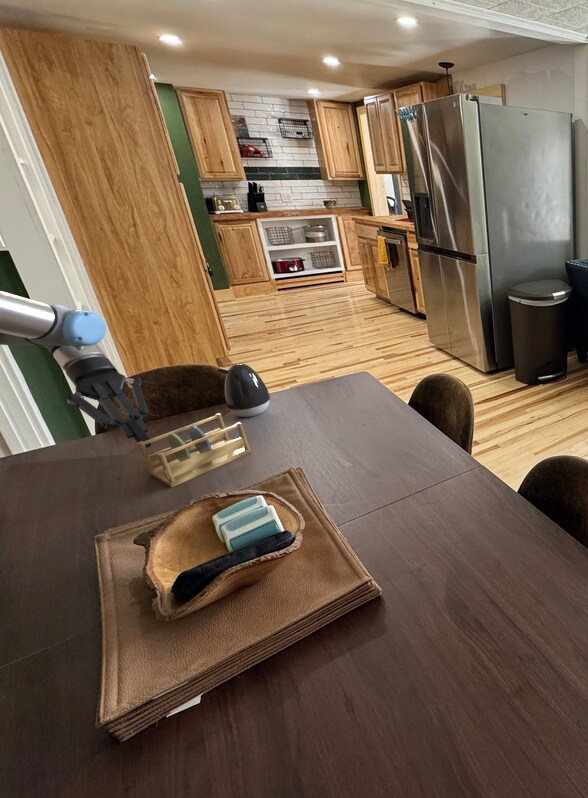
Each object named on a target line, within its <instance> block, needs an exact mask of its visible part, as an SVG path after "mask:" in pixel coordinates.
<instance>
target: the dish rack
mask: <svg viewBox="0 0 588 798" xmlns="http://www.w3.org/2000/svg"><path fill="white" fill-rule="evenodd" d="M213 420H217V423H218V426H219V427H218V428H215V429H213V430H211V431H207V432H206V433H205V432H204V431H203V430H202V429H201V428H200V427H198V426H200V425H202V424H205V423H208V422H210V421H213ZM234 429H237V431H238V433H239V437H237V438H235V439H230V437H229V432H230V431H232V430H234ZM186 430H188V433H189V437H190V439H187V440H185V441H184V440H183V439H181V437H180V436H179V435H177V434H178V433H181V432H184V431H186ZM165 438H167V440H168V445H169V447H166V448H164V449H161V450H159V451H156V452H153V453H151V454H149V452H148V450H147V449H148V448H146V447H145V445H146V444H149V443H151V444H152V443H154V442H156V441H157V442H158V441H159V440H162V439H165ZM149 439H150V440H147V441H144V442H143V441H141V442H138V443H137V442H136V444H137V447H138V449H139V451H140V453H141V455H142V458H143V461H144V464H145V466H146V468H147V470H148V473H149V475H151V476H152V477H154V478H155V479H157V480H158V481H160V482H162V483H164V484H165V485H167V486H168V487H170V488H174V487H176V486H178V485H181V484H183V483H186V482H187V481H189V480H192V479H194V478H196V477H199V476H201V475H203V474H205V473H208V472H210V471H213V470H214V469H217V468H219V467H221V466H223V465H225V464H228V463H230V462H232V461H234V460H237V459H239V458H241V457H244V456H246V455H248V454H251V453H252V450H251V448H250V444H249V441H248V438H247V436H246V433H245V430H244V427H243V423H242V422H241V421H238V422H236V423H235V424H233V425H231V426H229V427H227V426H226V425H225V423H224V419H223V417H222V413H220V412H218V413H216V414H215V415H213V416H210V417H207V418H205V419H202V420H198V421H197V422H193V423H191V424H189V425H185V426H182V427H180V428H177V429H175V430H171V431H168V432H167V433H164V434H161V435H157V436H155V437H153V438H149ZM220 439H223V440H220ZM218 440H220V441H218ZM215 441H217V442H215ZM213 442H215V443H213ZM211 443H213V444H211ZM193 450H196V451H194V452H191V453H190V451H193ZM173 458H176V459H174V460H172V459H173ZM170 459H171V460H172V461H169V460H170ZM168 461H169V462H168ZM158 464H160V466H157V467H155V466H156V465H158Z"/></svg>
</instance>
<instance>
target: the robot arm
mask: <svg viewBox="0 0 588 798" xmlns="http://www.w3.org/2000/svg"><path fill="white" fill-rule="evenodd" d="M106 331H107V325H106V322H105V321H104V319H103V318H102V317H101V315H99V314H97V313H96V312H93V311H89V310H82V309H70V308H69V307H67V306H65V305H62V304H48V303H44V302H41V301H37V300H34V299H30V298H27V297H24V296H20V295H16V294H13V293H10V292H6V291H3V290H0V346H18V347H19V346H20V347H21V346H22V347H36V348H46V349H47V351H48V352H49V353H50V355H51V356H52V357H53V358H54V359H55V361H56V362H57V364H58V365H59V366H60V368H61V369H62V370H63V372H65V374H66V376H67V377H68V378H69V380H70V382H71V383H72V384H73V385H74V387H75V392H74V393H73V394H70V395H68V396H67V404H68V405H69V406H72V407H75V408H77V409H80V410H81V411H82V412H83V413H85V414H87V416H89V417H90V418H91V419H93V420H94V421H95V422H97V423H98V424H100V426H102V427H104V428H105V429H106V430H111V429H115V428H117V429H118V430H120V431H121V432H122V434H123V435H124V436H125V438H126V439H131V438H133V439H134V440H135V442H136V444H137V443H138V442H141V441H143V442H144V441H147V440H150V439H151V438H150V437H149V436H148V435H147V433H148V432H149V427H148V426H147V424H146V423H145V422H144V420H143V419H144V418H147V416H148V412H149V409H148V407H147V403H146V400H145V397H144V394H143V391H142V388H141V384H142V378H141V377H140V376H136V377H134V378H132V377H131V378H130V377H126V375H124V374H122V373H121V372H119V370H117V368H116V366H114V364H113V363H112V361H111V360H110V358H108V357H107V355H106V354H105V352H104V351H103V349H102V348H101V347H100V346H99V345H98V343H100V342H101V341H103V339H104V338H105V335H106V333H107V332H106ZM126 384H127V387H128V388H130V389H132V390H131V391H132V395H133V398H134V401H135V404H136V408H137V409H135V407H134V406H133V404H132V403H131V402H130V401H129V399H128V398H127V397H126V395H125V394H124V392H123V391H124V389H125V385H126ZM85 398H88V399H91V400H94V401H97V402H98V404H99V405H100V406H102V408H103V409H104V410H105V412H106V413H107V415H106V414H105V413H104V412H102V410H99V409H98V408H97V407H96V406H94V405H93V404H92V403H90V402H89V401H88V400H86V399H85ZM110 398H111V399H112V398H113V399H114V401H115V402H117V404H118V405H119V406H120V409H122V411H123V412H124V413H125V414H126V416H127V417H128V418H129V419H130V420H128V421H126V419H125V418H124V417H123V415H122V413H121V412H120V411H119V409H118V408H117V407H116V406H115V404H114V403H113V401H112V400H111V399H110ZM145 447H146V449H148V448H150V447H152V442H151V443H149V444H146V445H145Z"/></svg>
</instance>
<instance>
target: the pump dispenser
mask: <svg viewBox="0 0 588 798" xmlns="http://www.w3.org/2000/svg"><path fill="white" fill-rule="evenodd" d="M216 370H217V372H219V373H221V374H223V375H224V374H225V380H224V398H225V404H226V407H227V409H229V410H230V411H231V412H232V413H233V414H234V415H236V416H238V417H243V418H252V417H254V416H258V415H260V414H262V413H264V412H265V411H266V410H267V409H268V408H269V405H270V400H271V395H270V392H269V389H268V387H267V386H266V384H265V382H264V381H263V379H262V378H261V376H260V375H259V374H258V372H256V371H255V370H254V369H253V368H252V367H251V366H250V365H249V364H246V363H235V364H233V365H232V366H230V367H229V368H223V367H218V368H217V369H216Z"/></svg>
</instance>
